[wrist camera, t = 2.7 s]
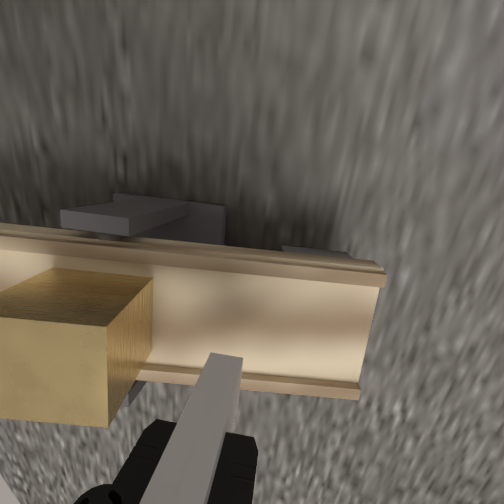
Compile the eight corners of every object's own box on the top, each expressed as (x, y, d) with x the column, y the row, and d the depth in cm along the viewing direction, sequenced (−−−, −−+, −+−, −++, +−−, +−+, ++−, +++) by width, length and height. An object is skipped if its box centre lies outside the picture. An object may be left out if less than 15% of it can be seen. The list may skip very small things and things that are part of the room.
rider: (52, 267, 18) (-45, 312, 12) (153, 277, 18) (106, 326, 12) (57, 342, 19) (-29, 415, 13) (151, 350, 19) (108, 427, 13)
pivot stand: (122, 193, 28) (10, 203, 17) (227, 205, 27) (182, 225, 16) (122, 312, 31) (28, 387, 20) (217, 327, 30) (173, 415, 19)
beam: (-84, 197, 22) (-249, 208, 15) (354, 242, 23) (401, 274, 16) (-63, 314, 25) (-196, 374, 17) (332, 351, 26) (364, 423, 18)
